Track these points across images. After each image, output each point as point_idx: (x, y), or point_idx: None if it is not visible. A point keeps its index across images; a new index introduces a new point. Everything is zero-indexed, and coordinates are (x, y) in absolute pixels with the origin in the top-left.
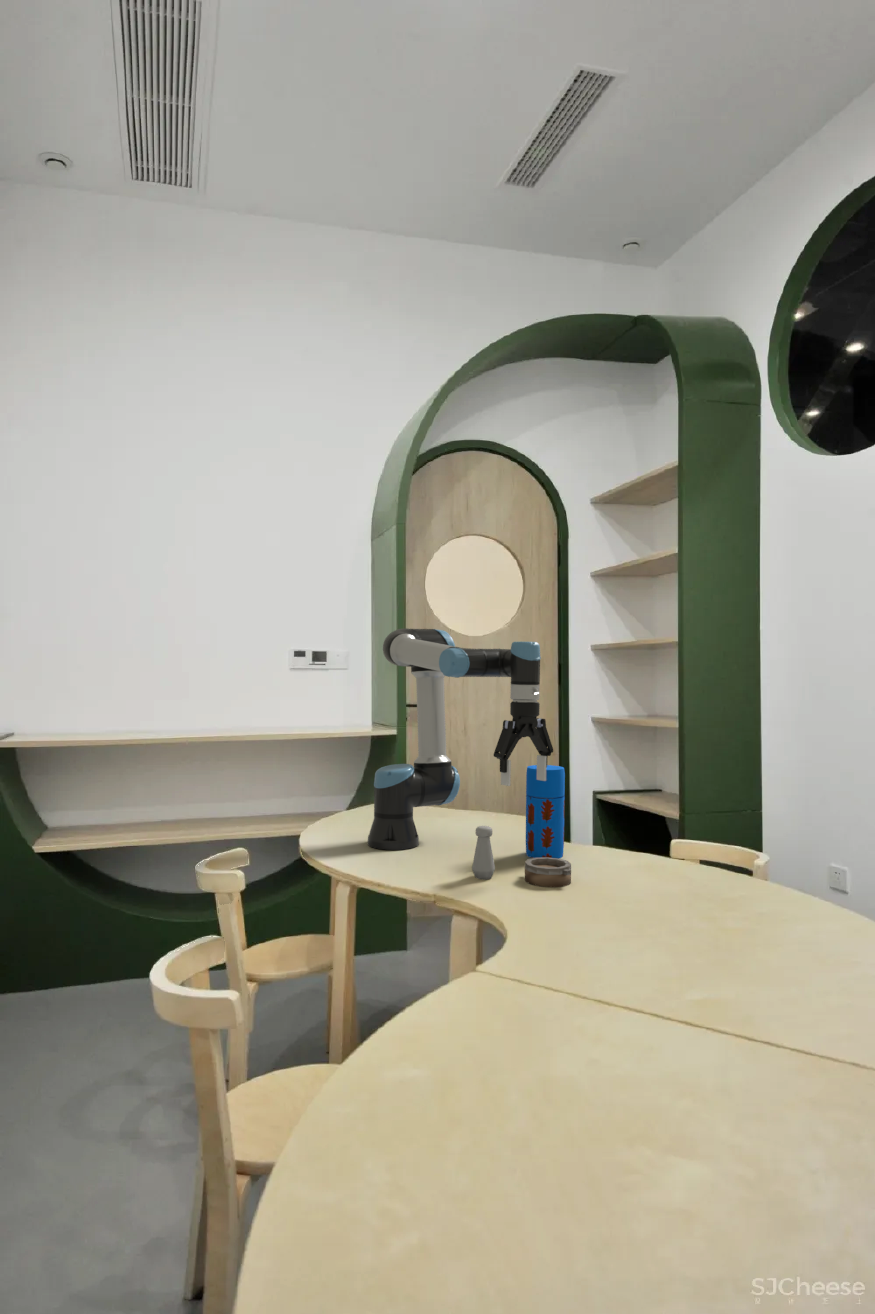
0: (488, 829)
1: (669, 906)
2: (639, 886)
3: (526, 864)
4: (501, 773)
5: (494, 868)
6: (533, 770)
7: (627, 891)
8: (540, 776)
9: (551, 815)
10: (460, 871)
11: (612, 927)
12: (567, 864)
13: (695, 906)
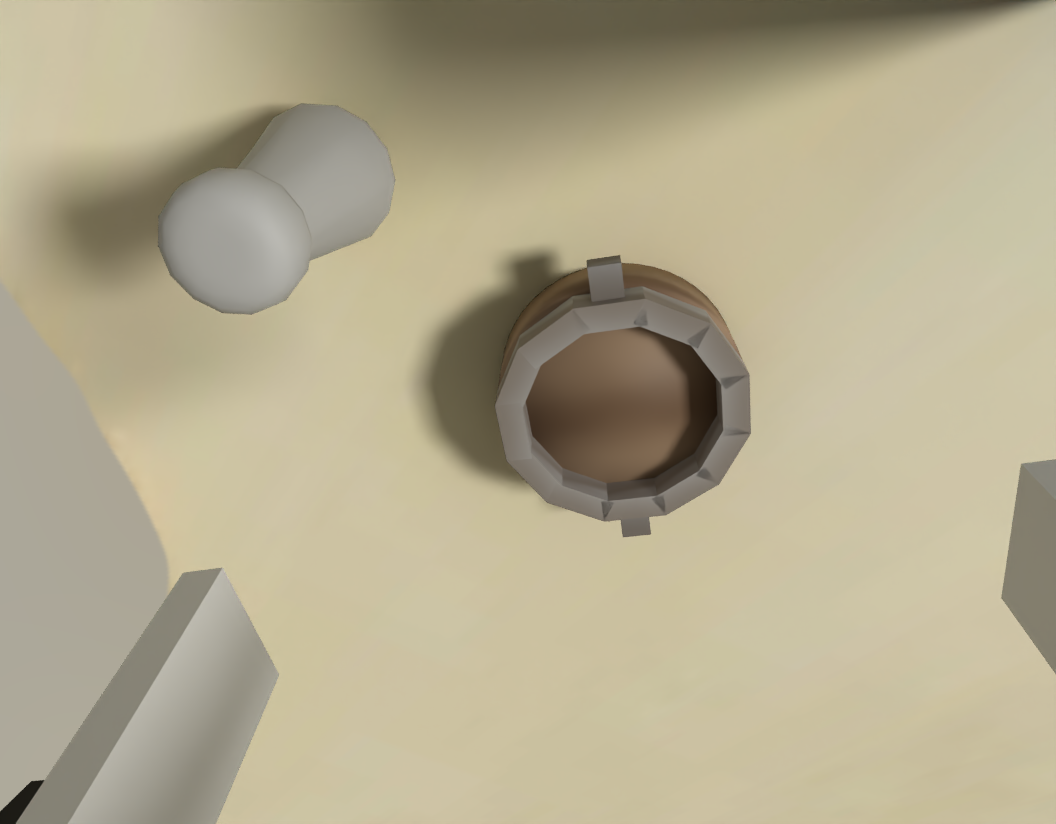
0: (240, 312)
1: (760, 761)
2: (894, 600)
3: (505, 376)
4: (96, 722)
5: (375, 230)
6: None
7: (791, 620)
8: (1046, 581)
9: None
10: None
11: (457, 790)
12: (690, 485)
13: (830, 789)
